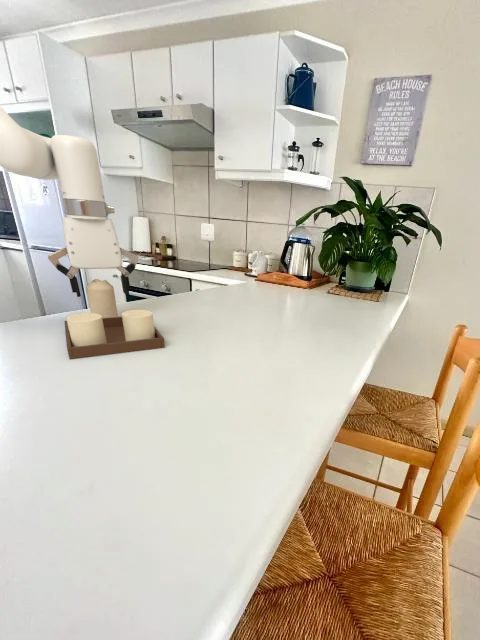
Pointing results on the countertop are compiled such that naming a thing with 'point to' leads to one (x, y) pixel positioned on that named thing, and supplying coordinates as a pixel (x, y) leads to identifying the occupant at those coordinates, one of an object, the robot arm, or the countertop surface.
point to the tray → (113, 341)
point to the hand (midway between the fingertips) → (103, 294)
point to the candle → (102, 298)
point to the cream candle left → (86, 329)
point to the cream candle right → (138, 325)
